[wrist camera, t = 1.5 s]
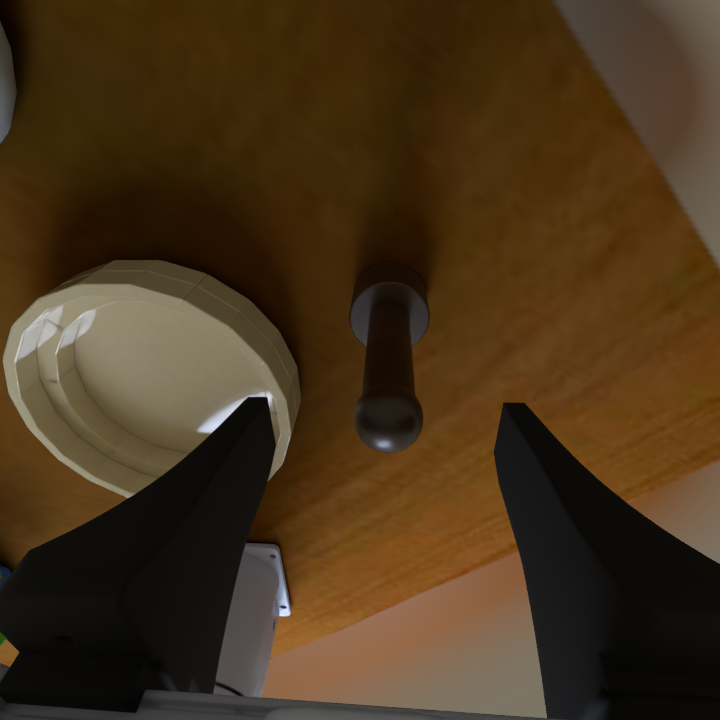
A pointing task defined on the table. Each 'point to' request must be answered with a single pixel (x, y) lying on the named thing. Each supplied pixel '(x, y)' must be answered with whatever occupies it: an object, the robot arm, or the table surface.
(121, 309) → the bowl
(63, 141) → the table surface
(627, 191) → the table surface
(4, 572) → the snack cup
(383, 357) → the pestle
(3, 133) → the donut
